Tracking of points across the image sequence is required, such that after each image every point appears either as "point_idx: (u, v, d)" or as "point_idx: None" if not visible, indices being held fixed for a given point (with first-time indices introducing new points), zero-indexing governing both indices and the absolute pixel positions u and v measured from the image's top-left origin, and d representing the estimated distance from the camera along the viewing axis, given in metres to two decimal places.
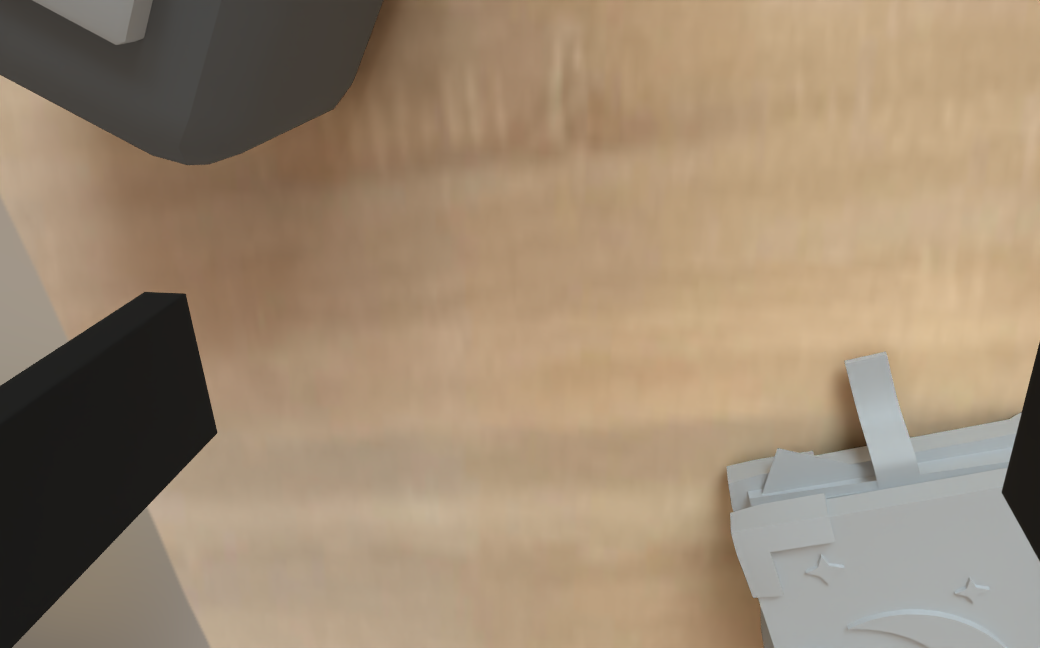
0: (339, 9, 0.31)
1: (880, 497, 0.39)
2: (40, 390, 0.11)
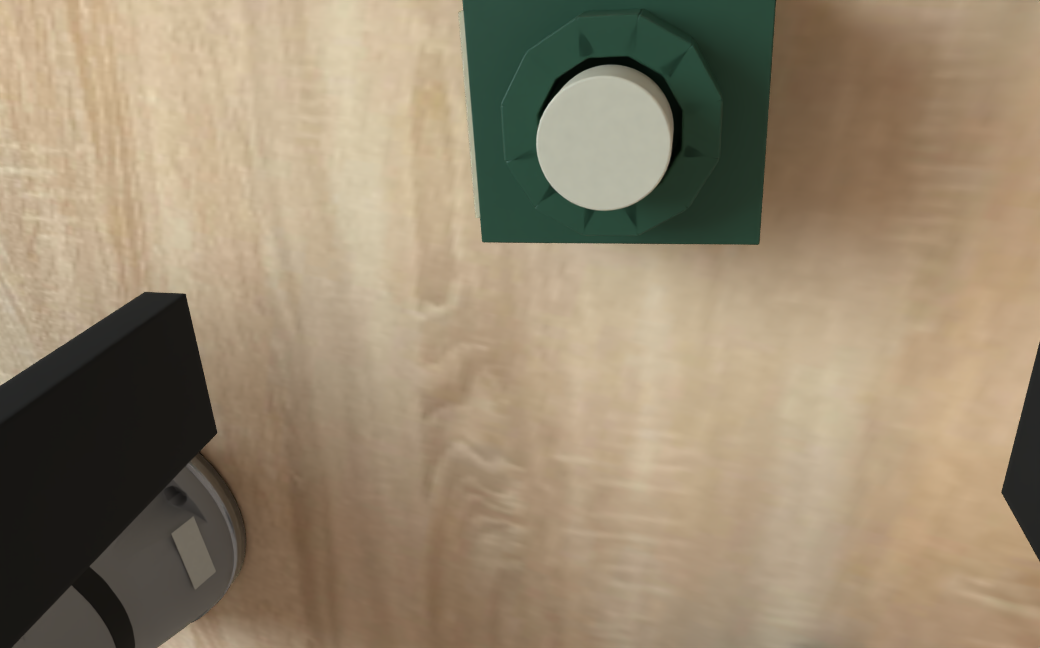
0: None
1: None
2: (40, 390, 0.11)
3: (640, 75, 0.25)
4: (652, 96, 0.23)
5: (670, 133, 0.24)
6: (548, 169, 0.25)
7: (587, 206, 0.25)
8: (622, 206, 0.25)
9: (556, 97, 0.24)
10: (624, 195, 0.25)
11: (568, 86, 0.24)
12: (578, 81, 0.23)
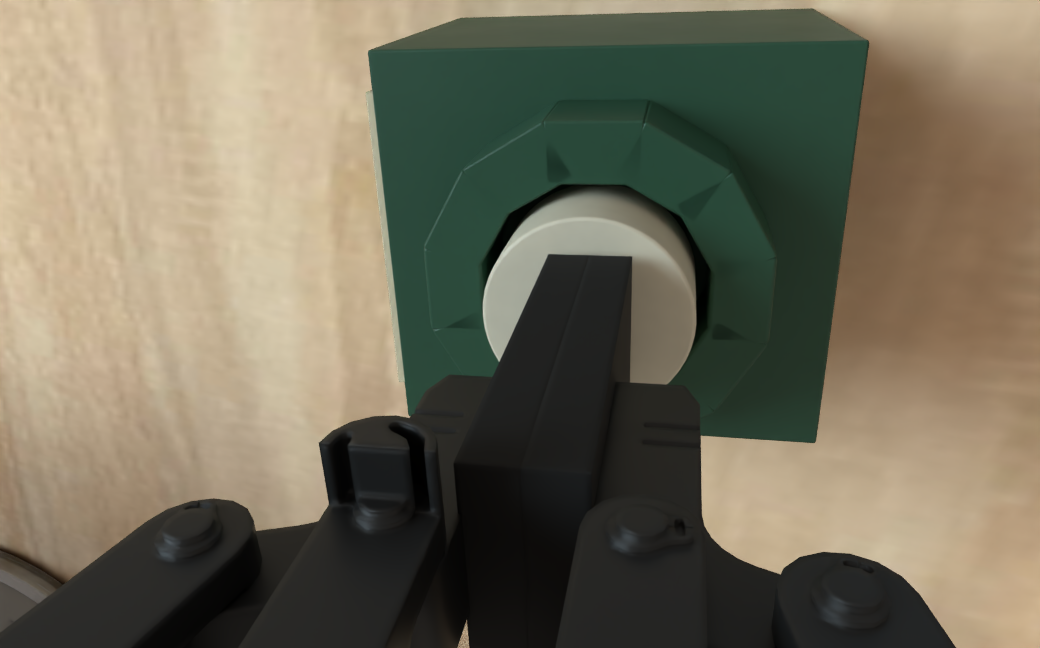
0: None
1: None
2: (557, 334, 0.12)
3: (647, 205, 0.16)
4: (667, 252, 0.14)
5: (694, 307, 0.15)
6: (501, 349, 0.16)
7: None
8: None
9: (513, 246, 0.15)
10: None
11: (532, 230, 0.15)
12: (548, 224, 0.15)
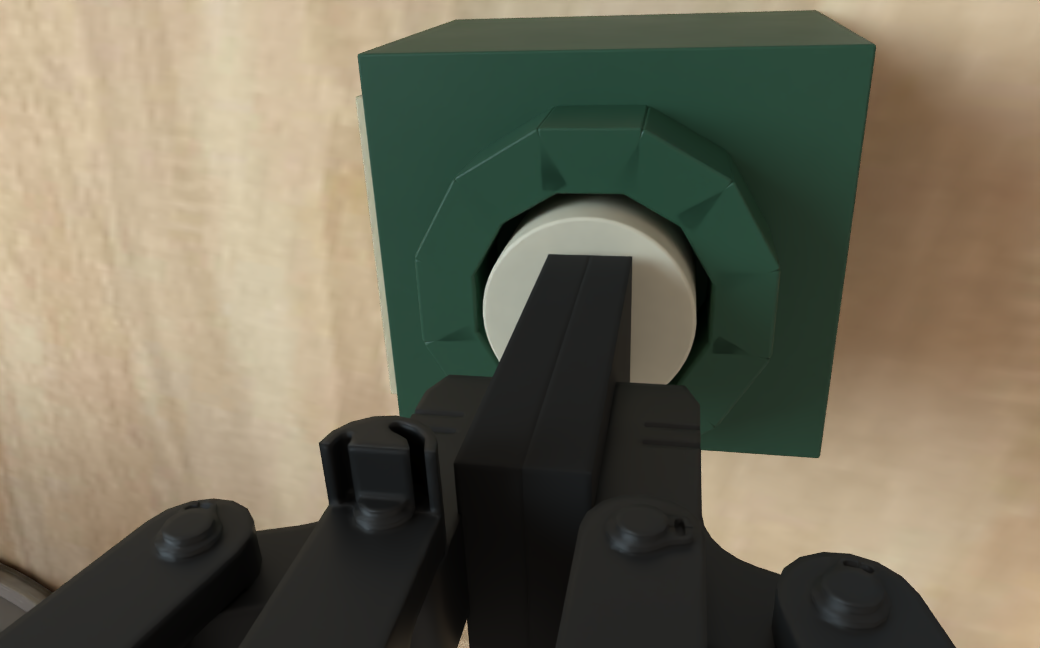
0: None
1: None
2: (557, 334, 0.12)
3: None
4: (667, 252, 0.14)
5: (694, 307, 0.15)
6: (501, 349, 0.16)
7: None
8: None
9: (513, 246, 0.15)
10: None
11: (532, 230, 0.15)
12: (548, 224, 0.15)
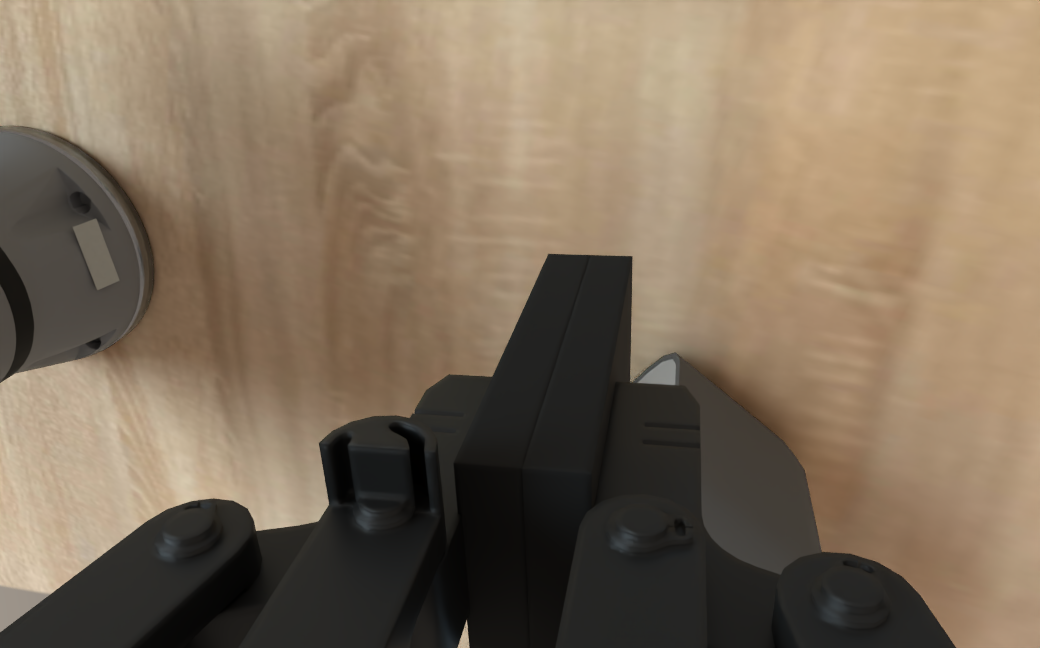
0: (743, 457, 0.42)
1: None
2: (557, 334, 0.12)
3: None
4: None
5: None
6: None
7: None
8: None
9: None
10: None
11: None
12: None
